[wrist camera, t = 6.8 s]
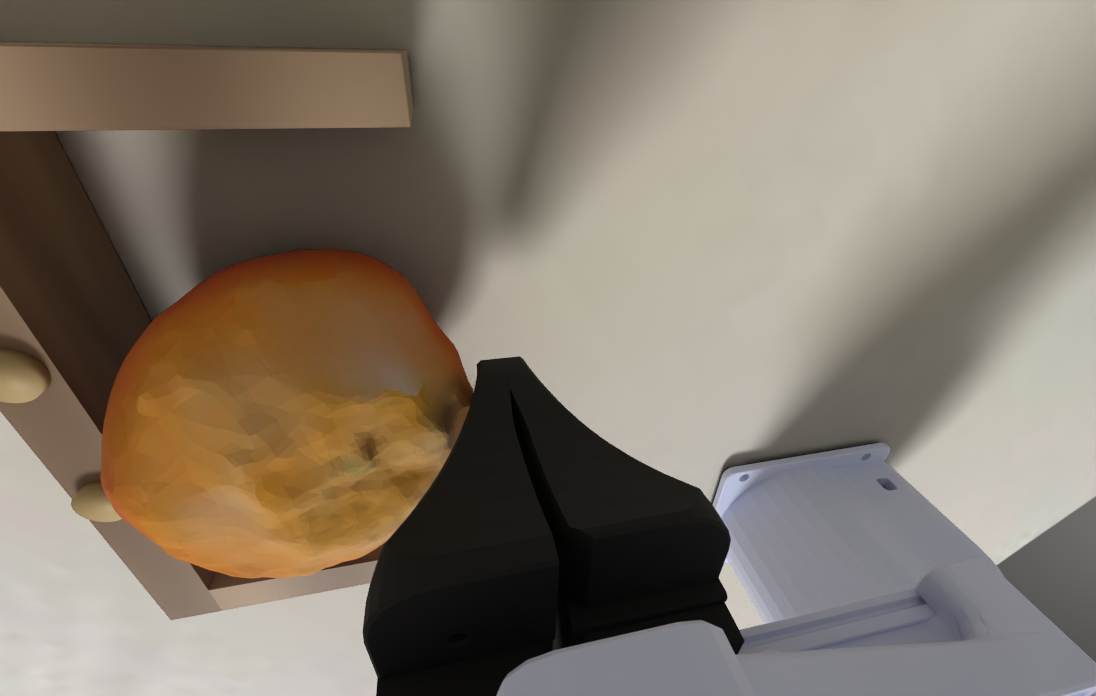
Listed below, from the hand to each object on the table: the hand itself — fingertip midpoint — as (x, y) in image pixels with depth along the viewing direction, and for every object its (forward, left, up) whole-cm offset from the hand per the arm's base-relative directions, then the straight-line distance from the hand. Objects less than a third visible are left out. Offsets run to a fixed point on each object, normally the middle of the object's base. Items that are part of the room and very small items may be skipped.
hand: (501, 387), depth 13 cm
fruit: (+5, 0, -4) cm, 6 cm away
